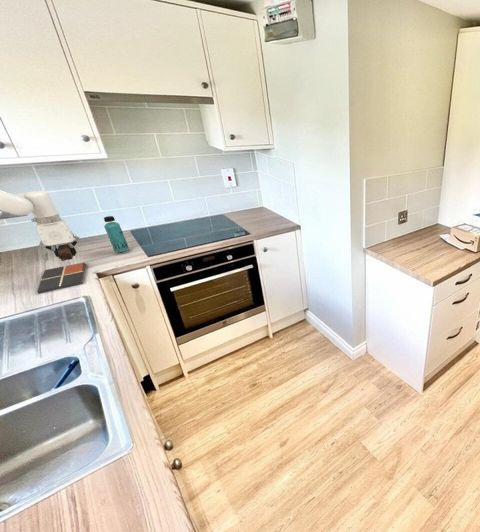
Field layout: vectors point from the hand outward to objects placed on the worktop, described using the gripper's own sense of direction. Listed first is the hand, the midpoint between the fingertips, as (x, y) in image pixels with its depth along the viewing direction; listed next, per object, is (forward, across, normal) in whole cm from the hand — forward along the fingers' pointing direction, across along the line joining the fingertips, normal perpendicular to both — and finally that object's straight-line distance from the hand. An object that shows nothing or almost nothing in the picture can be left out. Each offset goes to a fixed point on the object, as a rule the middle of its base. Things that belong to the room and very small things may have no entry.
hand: (67, 255), depth 150 cm
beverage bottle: (+8, +18, +13) cm, 24 cm away
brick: (+1, 0, 0) cm, 1 cm away
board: (+8, -4, -6) cm, 11 cm away
